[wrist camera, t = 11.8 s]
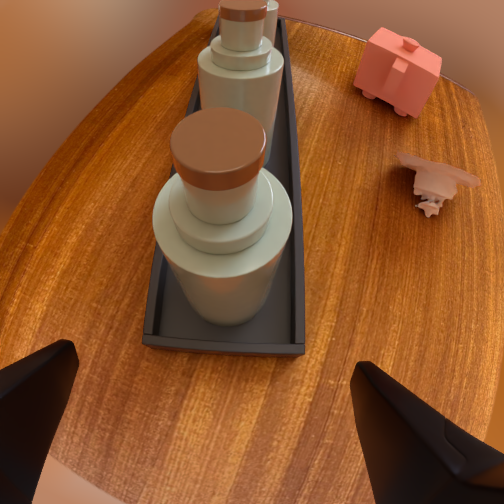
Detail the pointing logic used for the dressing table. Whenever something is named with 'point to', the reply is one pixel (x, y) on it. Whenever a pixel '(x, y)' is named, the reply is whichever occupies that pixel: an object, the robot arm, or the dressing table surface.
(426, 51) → the pink cube teapot
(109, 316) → the dressing table surface
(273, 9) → the bottle middle
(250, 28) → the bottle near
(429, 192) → the pale pink ornate lid
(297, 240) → the tray
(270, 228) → the bottle
